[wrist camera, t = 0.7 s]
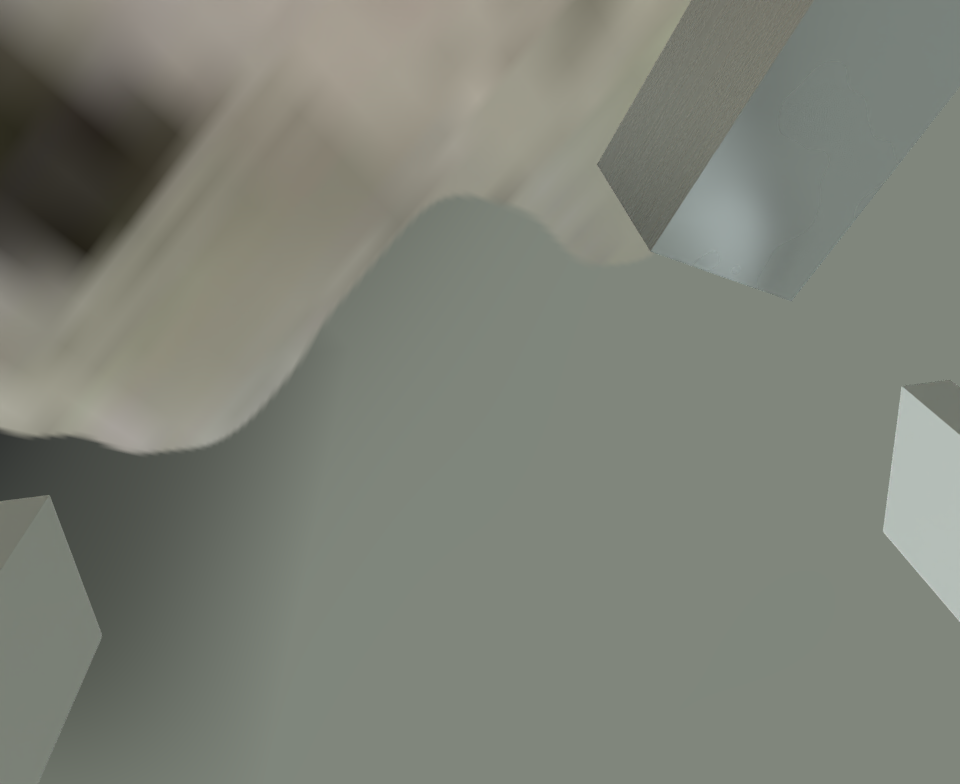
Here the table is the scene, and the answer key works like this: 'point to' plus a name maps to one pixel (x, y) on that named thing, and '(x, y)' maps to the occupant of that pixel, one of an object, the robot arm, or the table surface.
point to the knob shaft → (778, 128)
